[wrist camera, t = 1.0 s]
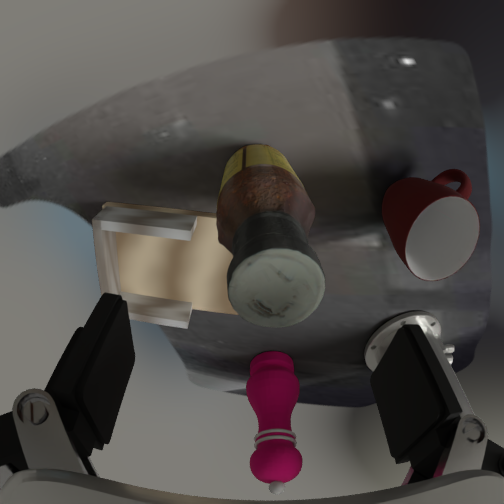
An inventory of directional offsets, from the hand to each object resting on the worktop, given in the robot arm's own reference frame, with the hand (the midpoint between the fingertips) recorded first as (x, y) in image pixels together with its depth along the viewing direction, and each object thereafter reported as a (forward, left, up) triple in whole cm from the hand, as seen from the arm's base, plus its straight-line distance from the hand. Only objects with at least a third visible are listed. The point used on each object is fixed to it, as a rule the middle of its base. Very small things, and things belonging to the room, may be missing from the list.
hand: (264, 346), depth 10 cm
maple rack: (+7, +11, -23) cm, 26 cm away
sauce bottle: (0, 0, -23) cm, 23 cm away
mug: (-16, -1, -23) cm, 28 cm away
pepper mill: (-6, +27, -23) cm, 36 cm away
